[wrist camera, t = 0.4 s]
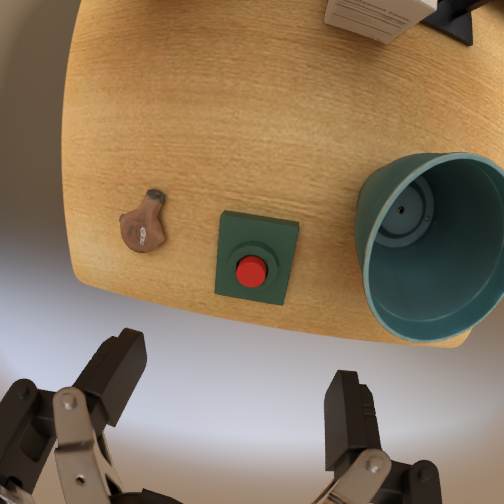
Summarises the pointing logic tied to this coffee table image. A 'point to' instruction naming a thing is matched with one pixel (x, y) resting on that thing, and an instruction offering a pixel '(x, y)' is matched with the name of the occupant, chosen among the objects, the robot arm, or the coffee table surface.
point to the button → (251, 271)
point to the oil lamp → (144, 224)
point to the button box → (259, 245)
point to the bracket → (454, 18)
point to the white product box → (378, 16)
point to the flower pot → (432, 243)
